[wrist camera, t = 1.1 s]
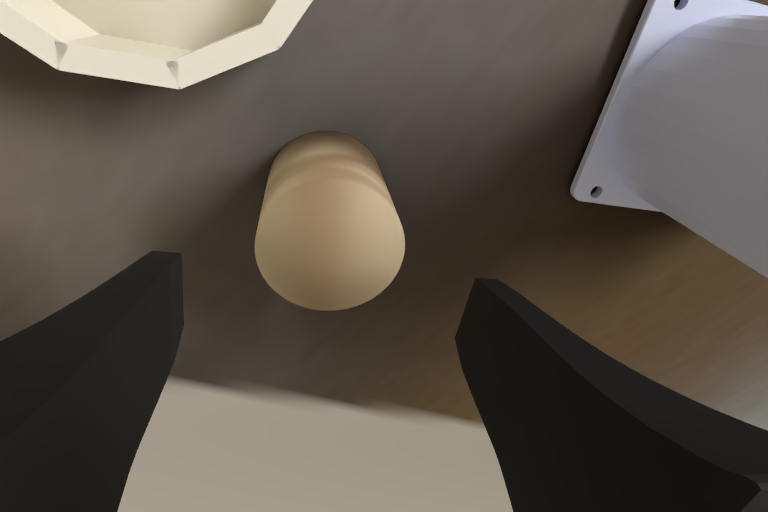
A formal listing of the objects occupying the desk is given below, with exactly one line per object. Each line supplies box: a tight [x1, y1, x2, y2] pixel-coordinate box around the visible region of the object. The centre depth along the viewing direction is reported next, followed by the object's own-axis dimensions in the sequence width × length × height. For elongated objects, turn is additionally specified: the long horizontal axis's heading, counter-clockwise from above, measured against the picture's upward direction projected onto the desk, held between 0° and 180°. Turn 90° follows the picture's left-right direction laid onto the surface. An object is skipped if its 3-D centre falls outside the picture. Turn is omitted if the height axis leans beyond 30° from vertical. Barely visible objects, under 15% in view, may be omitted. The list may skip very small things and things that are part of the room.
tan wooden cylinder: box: [255, 131, 405, 311], centre depth 15 cm, size 4×4×5 cm
